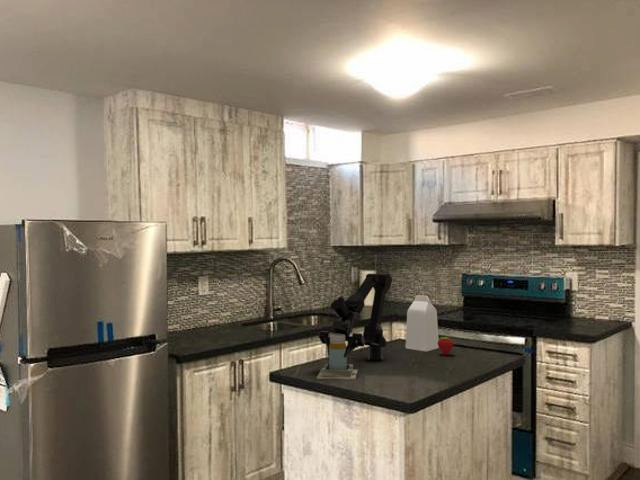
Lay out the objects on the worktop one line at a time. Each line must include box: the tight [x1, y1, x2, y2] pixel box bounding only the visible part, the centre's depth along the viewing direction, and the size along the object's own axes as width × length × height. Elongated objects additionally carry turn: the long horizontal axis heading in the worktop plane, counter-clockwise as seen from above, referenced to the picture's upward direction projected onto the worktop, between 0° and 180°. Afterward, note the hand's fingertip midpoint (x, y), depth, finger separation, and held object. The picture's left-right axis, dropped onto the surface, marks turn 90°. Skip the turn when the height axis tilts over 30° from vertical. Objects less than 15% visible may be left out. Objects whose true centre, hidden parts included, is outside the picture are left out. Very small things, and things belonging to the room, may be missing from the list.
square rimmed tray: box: [316, 363, 359, 381], centre depth 230 cm, size 15×15×3 cm
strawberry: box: [437, 336, 454, 356], centre depth 265 cm, size 6×8×10 cm
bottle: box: [328, 333, 348, 370], centre depth 230 cm, size 7×7×15 cm
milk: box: [405, 294, 440, 352], centre depth 282 cm, size 12×12×26 cm
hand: (336, 356), depth 229 cm, fingers closed on bottle, 6 cm apart
